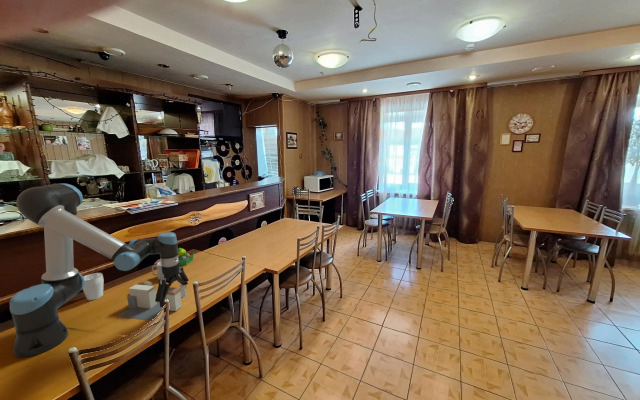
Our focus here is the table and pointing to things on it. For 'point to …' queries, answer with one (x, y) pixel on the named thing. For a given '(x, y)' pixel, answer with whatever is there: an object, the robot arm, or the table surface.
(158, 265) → the mug
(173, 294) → the brown topped white box
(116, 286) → the table surface
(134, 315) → the slate mat
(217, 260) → the table surface
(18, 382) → the table surface
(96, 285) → the cup
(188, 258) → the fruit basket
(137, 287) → the cream rectangular block
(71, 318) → the table surface
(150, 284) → the bread roll
